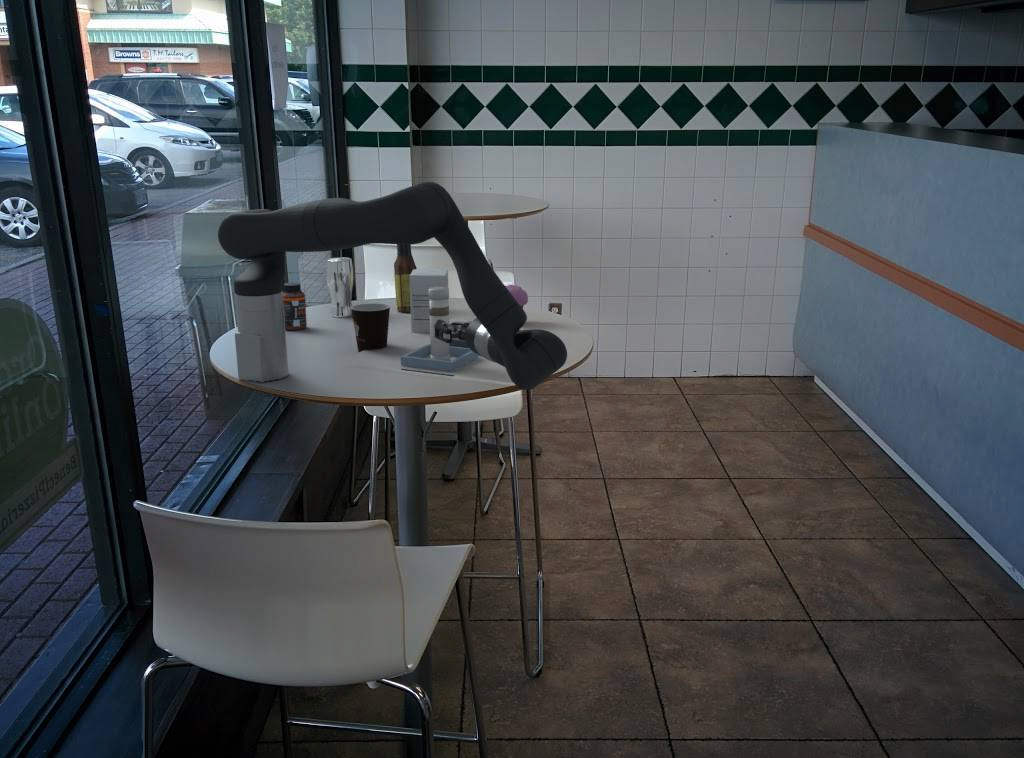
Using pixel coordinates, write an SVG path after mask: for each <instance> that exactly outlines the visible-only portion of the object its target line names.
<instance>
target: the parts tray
mask: <svg viewBox="0 0 1024 758" xmlns="http://www.w3.org/2000/svg"><path fill="white" fill-rule="evenodd" d="M449 347H450V357H456V358H454V359H452V360H450V361H444V360H435V359H430V358H425V357H426V356H429V355H430V354H431V350H430V343H427V344H425V345H423V346H421V347H418V348H416V349H414V350H412V351H410V352H408V353H406V354H403V355H401V356H400V366H402V367H408V368H419V369H427V370H428V369H429V370H432V371H434V370H435V371H440V372H441V371H442V372H450V373H453V372H455V371H457V370H459V369H461V368H463V367H464V366H466V365H468V364H469V363H471V362H472V363H473V362H474V361H475V360H477V359H479V355H478V354H476V353H474V352H473V351H472V350H471V349H470V348H462V347H453V346H449ZM400 370H401V371H406V372H413V373H414V372H416V373H422V374H430V375H436V376H437V375H438V376H439V375H440V376H447V377H454V376H455V374H448V373H440V372H439V373H438V372H431V371H423V370H415V369H407V368H401V369H400Z"/></svg>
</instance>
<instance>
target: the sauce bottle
mask: <svg viewBox="0 0 1024 758" xmlns="http://www.w3.org/2000/svg"><path fill="white" fill-rule="evenodd" d="M396 250H397V252H396V253H397V256H396V259H395V261H394V262H393V268H394V269H393V270H394V271H393V272H394V274H393V275H394V276H393V277H394V289H395V302H396V303H395V304H396V309H397V312H399V313H406V312H408V313H411V305H410V274H411V273H412V271H413V270H415V269H418V268H417V265H416V263H415V260H414V257H413V254H412V245H403V244H396Z"/></svg>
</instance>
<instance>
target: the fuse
mask: <svg viewBox="0 0 1024 758" xmlns="http://www.w3.org/2000/svg"><path fill="white" fill-rule="evenodd" d="M428 291H429V315H430V332H429V338H430V339H429V340H430V341H429V344H430V350H431V354H429V359H435V360H444V361H451V356H450V347H449V343H446V342H443V341H441V340H439V339H437V338H435V337H434V335H435V327H434V325H435V324H436V322H437V320H443V321H445V322H447V323H450V302H449V301H450V288H449V287H448V288H447V287H431V288H429V289H428ZM448 328H450V327H448Z"/></svg>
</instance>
